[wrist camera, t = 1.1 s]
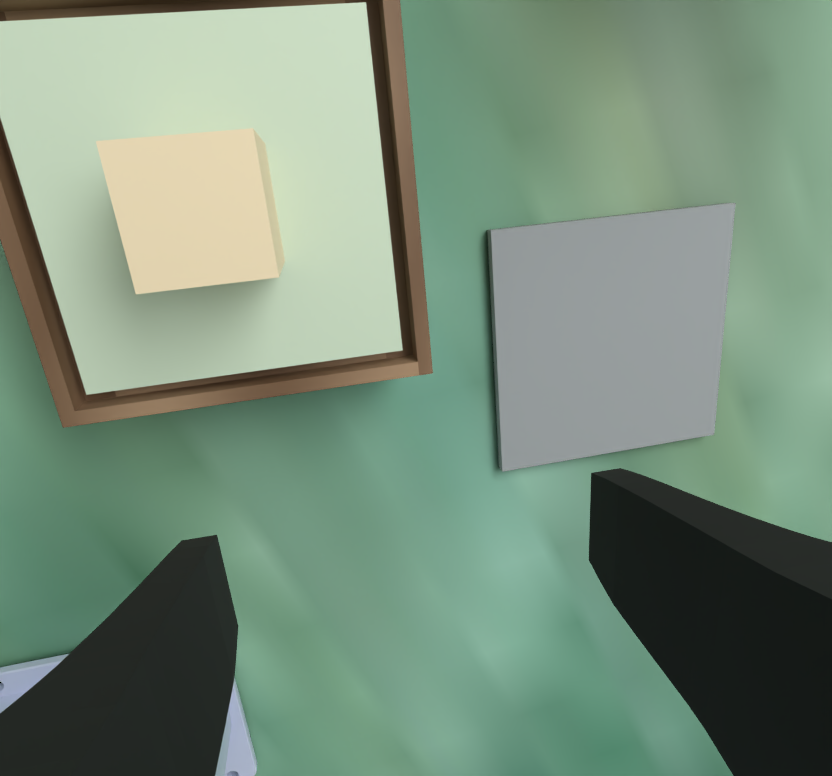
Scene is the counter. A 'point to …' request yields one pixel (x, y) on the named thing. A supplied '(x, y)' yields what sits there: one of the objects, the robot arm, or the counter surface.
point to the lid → (204, 188)
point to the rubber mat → (607, 331)
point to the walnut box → (12, 224)
